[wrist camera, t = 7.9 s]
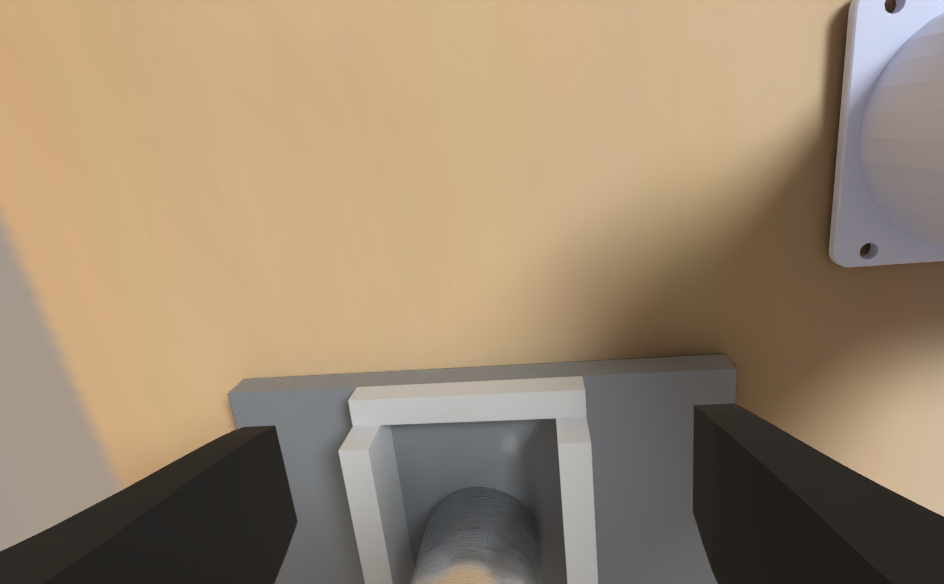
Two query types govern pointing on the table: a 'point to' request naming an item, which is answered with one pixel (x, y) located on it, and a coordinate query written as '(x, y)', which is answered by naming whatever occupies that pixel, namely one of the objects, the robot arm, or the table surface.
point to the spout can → (479, 541)
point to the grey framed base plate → (495, 462)
